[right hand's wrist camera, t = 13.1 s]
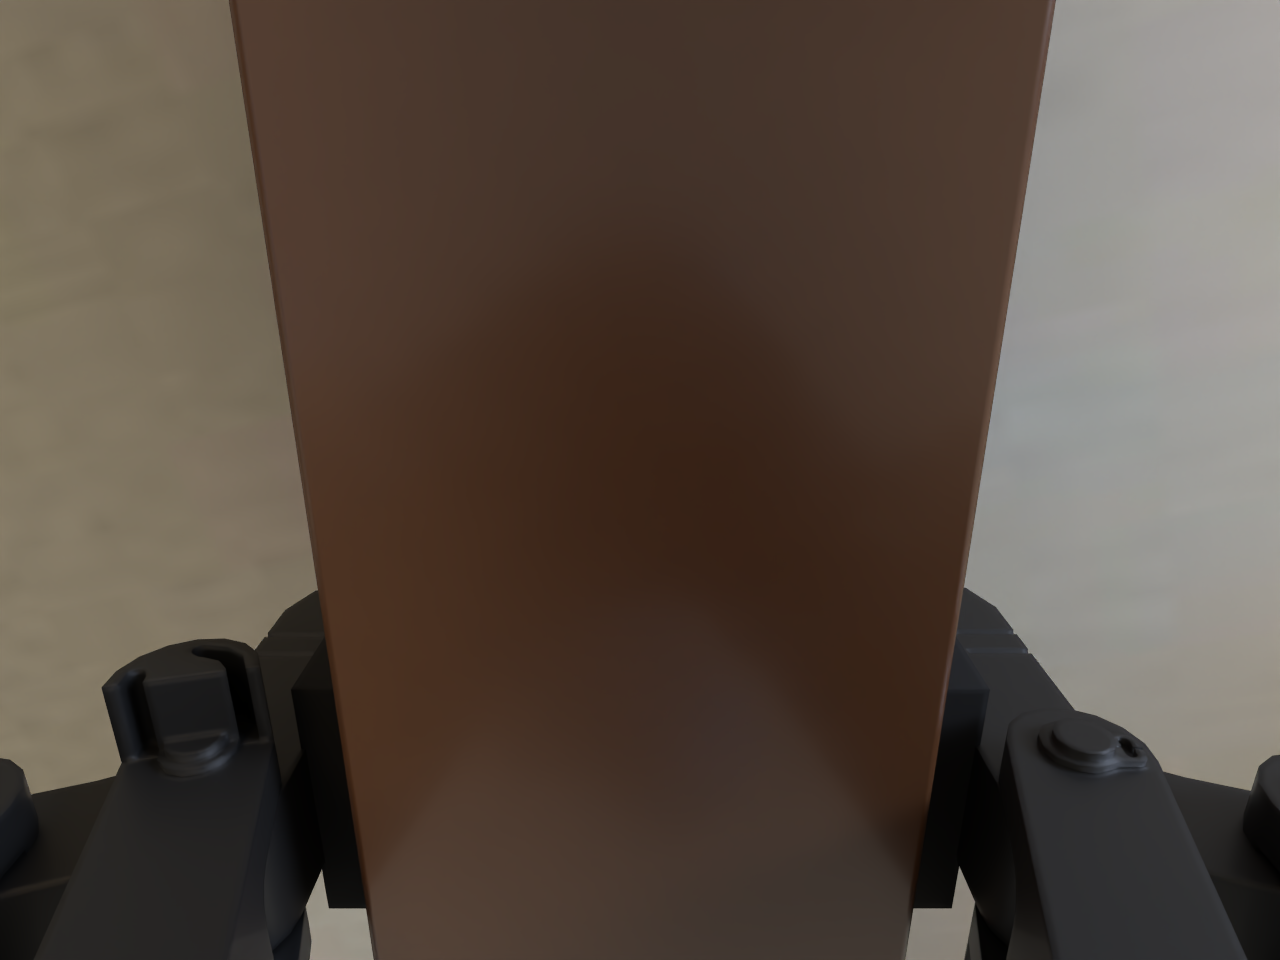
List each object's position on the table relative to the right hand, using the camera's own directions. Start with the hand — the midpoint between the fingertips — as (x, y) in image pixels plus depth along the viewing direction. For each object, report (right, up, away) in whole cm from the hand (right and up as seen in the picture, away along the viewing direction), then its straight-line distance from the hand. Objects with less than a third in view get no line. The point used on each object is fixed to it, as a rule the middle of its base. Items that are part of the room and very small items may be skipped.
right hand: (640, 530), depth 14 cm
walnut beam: (0, +9, -3) cm, 10 cm away
